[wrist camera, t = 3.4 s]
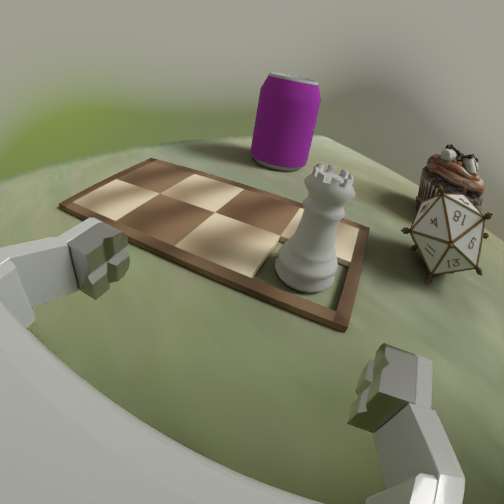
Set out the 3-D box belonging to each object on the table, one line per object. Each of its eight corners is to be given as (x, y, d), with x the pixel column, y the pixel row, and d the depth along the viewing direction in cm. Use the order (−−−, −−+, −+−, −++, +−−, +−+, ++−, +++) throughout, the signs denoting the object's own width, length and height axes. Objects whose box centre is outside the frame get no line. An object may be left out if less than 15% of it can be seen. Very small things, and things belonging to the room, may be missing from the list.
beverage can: (271, 149, 45) (286, 73, 38) (315, 167, 42) (334, 85, 35) (237, 157, 40) (251, 70, 33) (284, 178, 37) (304, 81, 30)
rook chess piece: (336, 267, 24) (369, 172, 19) (328, 304, 20) (369, 197, 16) (282, 249, 25) (305, 153, 20) (265, 283, 21) (290, 172, 17)
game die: (401, 299, 28) (376, 215, 23) (425, 242, 31) (405, 163, 27) (487, 312, 21) (486, 217, 16) (498, 247, 25) (491, 159, 20)
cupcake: (410, 219, 34) (438, 143, 28) (409, 194, 41) (431, 132, 35) (474, 249, 31) (507, 178, 25) (463, 219, 38) (488, 159, 33)
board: (367, 232, 29) (369, 227, 29) (345, 332, 18) (347, 327, 18) (151, 161, 36) (151, 157, 35) (59, 208, 25) (58, 203, 25)
